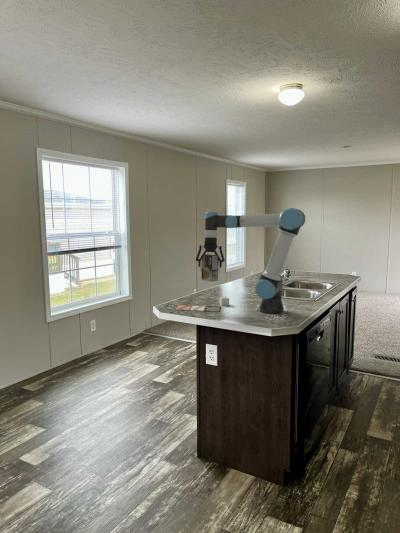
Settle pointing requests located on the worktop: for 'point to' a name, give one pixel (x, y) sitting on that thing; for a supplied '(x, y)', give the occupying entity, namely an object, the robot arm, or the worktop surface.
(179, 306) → the board
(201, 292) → the worktop surface
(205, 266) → the coffee box
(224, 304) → the die
